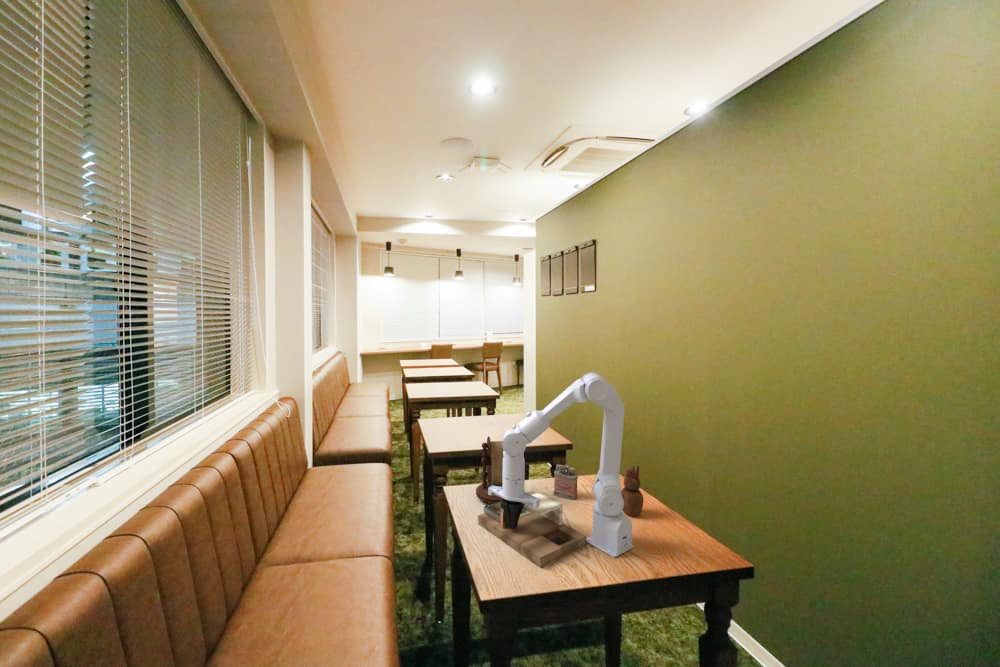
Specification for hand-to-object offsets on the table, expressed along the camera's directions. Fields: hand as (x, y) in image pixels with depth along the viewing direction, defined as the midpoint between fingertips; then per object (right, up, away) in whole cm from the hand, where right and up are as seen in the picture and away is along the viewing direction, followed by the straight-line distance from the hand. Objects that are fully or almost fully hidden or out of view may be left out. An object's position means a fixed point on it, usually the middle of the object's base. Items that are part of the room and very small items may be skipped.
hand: (513, 527), depth 111 cm
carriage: (-1, 0, +8) cm, 9 cm away
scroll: (-4, -2, +26) cm, 26 cm away
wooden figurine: (+36, -3, +15) cm, 39 cm away
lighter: (+18, -2, +27) cm, 32 cm away
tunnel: (+5, -3, +3) cm, 6 cm away
